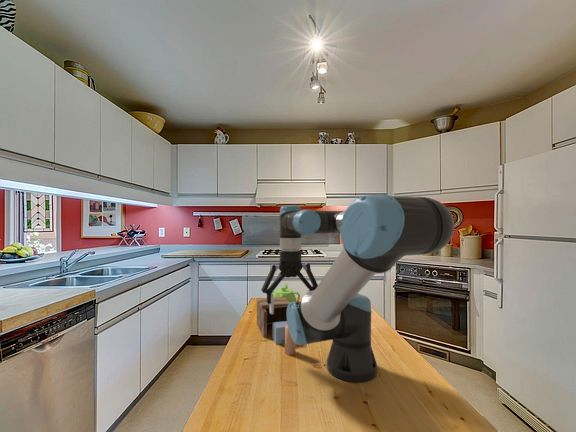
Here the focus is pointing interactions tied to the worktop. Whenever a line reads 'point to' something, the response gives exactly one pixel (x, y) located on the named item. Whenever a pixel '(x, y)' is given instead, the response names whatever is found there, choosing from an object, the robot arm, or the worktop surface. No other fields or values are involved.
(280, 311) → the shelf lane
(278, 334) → the egg topped joystick
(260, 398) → the worktop surface
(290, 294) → the teapot
